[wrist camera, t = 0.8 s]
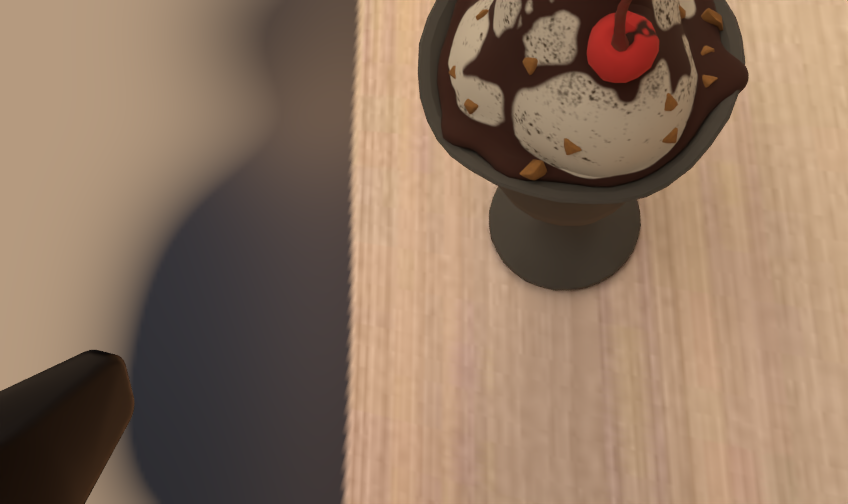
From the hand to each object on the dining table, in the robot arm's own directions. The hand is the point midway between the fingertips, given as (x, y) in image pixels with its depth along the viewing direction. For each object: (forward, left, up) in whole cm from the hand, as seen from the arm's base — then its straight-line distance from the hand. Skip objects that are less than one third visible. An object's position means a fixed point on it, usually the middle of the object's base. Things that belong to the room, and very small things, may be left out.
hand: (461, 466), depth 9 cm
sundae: (+9, 0, -15) cm, 17 cm away
